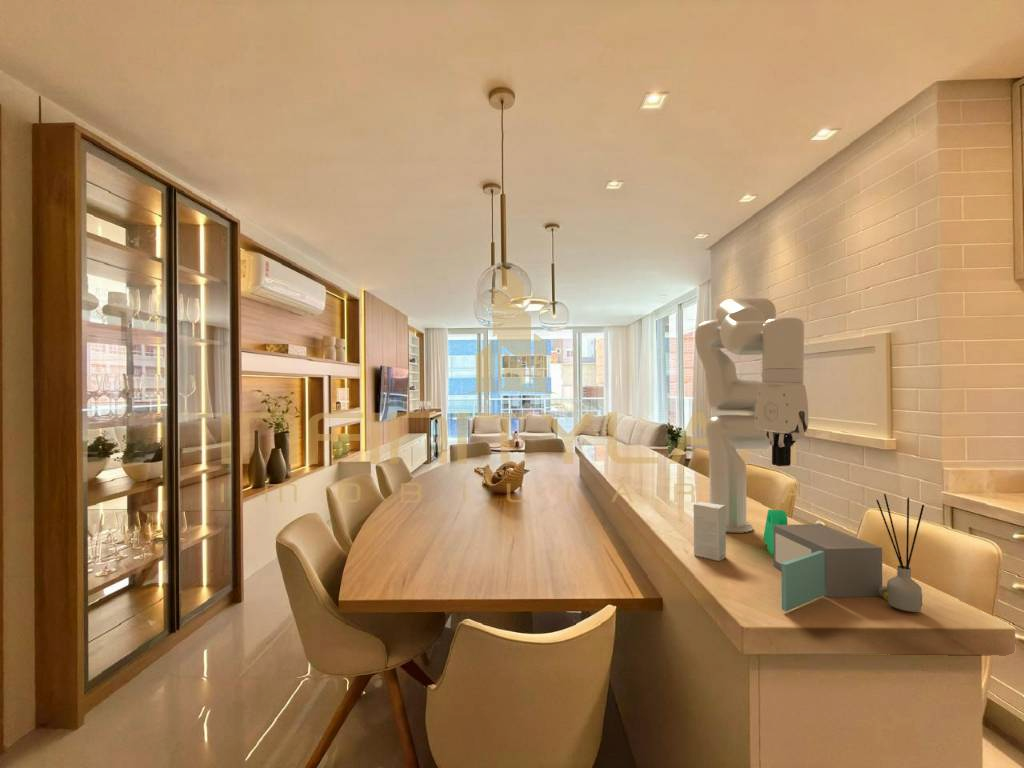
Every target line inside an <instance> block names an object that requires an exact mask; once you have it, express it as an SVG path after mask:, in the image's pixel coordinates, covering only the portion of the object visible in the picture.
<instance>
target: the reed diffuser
mask: <svg viewBox="0 0 1024 768" xmlns="http://www.w3.org/2000/svg"><path fill="white" fill-rule="evenodd" d="M883 496H884V500H885V504H886V509H887V512H888V517H889V521H890V526H891V529H892V533H893V537H894V539H893V537H892V534H891V531H890V529H889V526H888V523H887V520H886V518H885V516H884V512H883V510H882V506H881V504H880V502H879V499H876V503H877V505H878V508H879V512H880V514H881V516H882V519H883V522H884V524H885V528H886V531H887V533H888V535H889V539H890V541H891V544H892V546H893V550H894V552H895V555H896V557H897V560H898V562H899V563H898V564H899V565H897V566H896V569H897V570H896V576H893V577H891V578H890V579H888V580H887V583H886V586H883V585H882V587H880V588H879V593H880V595H881V596H880V597H882V598H883V599H884V600H886V601H887V604H888V605H890V606H891V607H892V608H895V609H897V610H900V611H906V612H912V613H913V612H914V613H916V612H918V613H919V612H921V611H922V607H923V591H922V587H921V585H919V583H918V582H916V581H915V580H913V578H912V568H911V567H910V563H911V561H912V555H913V551H914V548H915V547H914V546H915V543H916V541H917V540H916V539H917V535H918V532H919V527H920V524H921V520H922V516H923V512H924V509H925V504H921V509H920V511H919V517H918V519H917V520H918V521H917V525H916V528H915V531H914V537H913V539H912V540H913V541H912V545H911V549H910V552H909V537H910V536H909V535H910V534H909V531H910V529H909V528H910V527H909V526H910V498H909V497H906V503H907V504H906V554H905V555H906V562H905V564H906V565H904V564H903V559H902V555H901V551H900V546H899V543H898V539H897V535H896V531H895V527H894V523H893V519H892V515H891V514H892V513H891V511H890V506H889V501H888V499H887V495H886V493H883Z"/></svg>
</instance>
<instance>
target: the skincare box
mask: <svg viewBox="0 0 1024 768" xmlns="http://www.w3.org/2000/svg"><path fill="white" fill-rule="evenodd" d="M692 505H693V556H695V555H696V556H695V557H699V556H700V558H703V557H704V558H703V559H707V558H708V559H709V560H713V561H716V562H721V561H722V560H724V559H725V558H726V557H727V547H726V546H727V543H726V541H727V540H726V539H727V538H726V537H727V535H726V533H727V532H726V524H725V505H718V504H712V503H710V502H706V501H705V502H704V501H698V502H696V503H694V504H692Z"/></svg>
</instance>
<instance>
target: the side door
mask: <svg viewBox="0 0 1024 768" xmlns="http://www.w3.org/2000/svg"><path fill="white" fill-rule="evenodd" d="M781 568H782V571H781V610H782V611H784V612H788V611H790V610H793V609H795V608H797V607H800V606H802V605H805V604H807V603H809V602H812V601H814V600H817V599H819V598H821V597H823V596H824V595H825V577H824V551H817V552H814V553H811V554H808V555H805V556H802V557H799V558H796V559H793V560H790V561H787V562H784V563H781Z"/></svg>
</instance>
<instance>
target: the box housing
mask: <svg viewBox="0 0 1024 768" xmlns="http://www.w3.org/2000/svg"><path fill="white" fill-rule="evenodd" d="M773 534H774V556H773V567H774V568H776V569H777V570H780V571H781V572H782V568H781V563H784V562H787V561H790V560H793V559H796V558H799V557H802V556H805V555H808V554H811V553H814V552H817V551H824V577H825V595H823V596H824V597H825V598H850V597H851V598H853V597H855V598H857V597H858V598H859V597H882V596H881V595H880V593H879V588H880V587H883V547H881V546H878V545H876V544H874V543H871V542H869V541H866V540H863V539H860V538H858V537H855V536H853V535H850V534H847V533H845V532H842V531H839V530H837V529H834V528H831V527H830V526H828V525H827V526H826V525H824V524H821V523H817V524H813V523H811V524H810V523H808V524H807V523H806V524H787V525H773Z"/></svg>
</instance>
